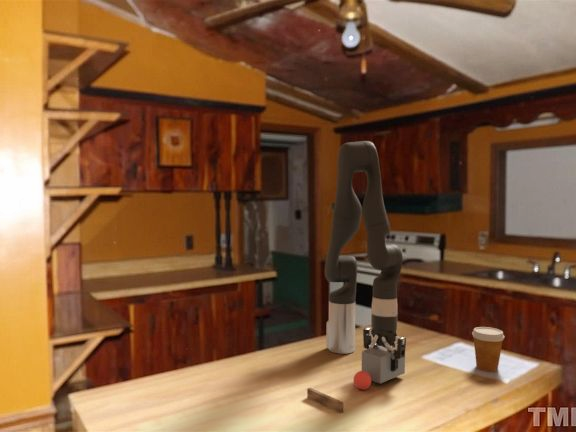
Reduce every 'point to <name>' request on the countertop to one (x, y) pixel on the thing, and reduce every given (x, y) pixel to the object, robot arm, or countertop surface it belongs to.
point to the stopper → (325, 400)
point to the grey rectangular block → (380, 364)
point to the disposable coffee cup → (487, 347)
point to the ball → (362, 380)
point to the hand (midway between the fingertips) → (383, 367)
